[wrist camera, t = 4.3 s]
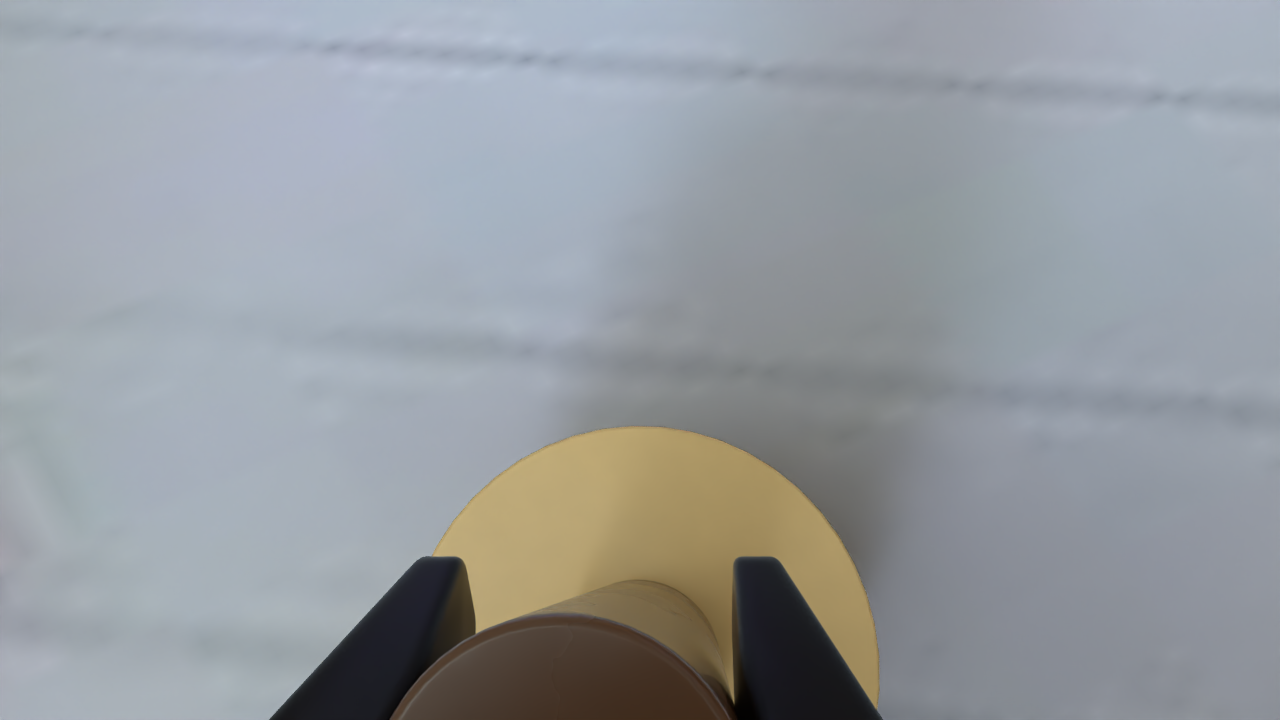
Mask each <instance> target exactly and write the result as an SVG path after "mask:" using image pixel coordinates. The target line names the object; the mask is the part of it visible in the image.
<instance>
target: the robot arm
mask: <svg viewBox="0 0 1280 720" xmlns="http://www.w3.org/2000/svg"><path fill="white" fill-rule="evenodd" d="M475 634H476V618H475V611H474V605H473V600H472V595H471V590H470V584H469V579H468V574H467V569H466V565H465V563H464V561H463V560H462V559H461V558H459V557H456V556H426V557H422V558H420V559H419V560H417V561H416V562H415V563H414V564H413V565H412V566H411V567H410V568H409V569H408V570H407V571H406V572H405V573H404V575H403V576H402V577H401V578H400V579H399V580H398V581H397V582H396V583H395V584H394V585H393V586H392V587H391V589H390V590H389V591H388V592H387V593H386V594H385V595H384V596H383V597H382V598H381V599H380V600H379V602H378V603H377V604H376V605H375V606H374V607H373V608H372V609H371V610H370V611H369V612H368V613H367V614H366V616H365V617H364V618H363V619H362V620H361V621H360V622H359V623H358V624H357V625H356V626H355V627H354V629H353V630H352V631H351V632H350V633H349V634H348V635H347V636H346V637H345V638H344V639H343V640H342V641H341V643H340V644H339V645H338V646H337V647H336V648H335V649H334V650H333V651H332V652H331V653H330V654H329V656H328V657H327V658H326V659H325V660H324V661H323V662H322V663H321V664H320V665H319V666H318V667H317V668H316V670H315V671H314V672H313V673H312V674H311V675H310V676H309V677H308V678H307V679H306V680H305V681H304V683H303V684H302V685H301V686H300V687H299V688H298V689H297V690H296V691H295V692H294V693H293V694H292V695H291V697H290V698H289V699H288V700H287V701H286V702H285V703H284V704H283V705H282V706H281V707H280V708H279V709H278V711H277V712H276V713H275V714H274V715H273V716H272V717H271V718H270V719H269V720H390V718H391V716H392V714H393V713H394V711H395V710H396V708H397V706H398V705H399V703H400V702H401V700H402V699H403V697H404V696H405V694H406V693H407V692H408V690H409V689H410V688H411V687H412V686H413V684H414V683H415V682H416V681H417V680H418V678H419V677H420V676H421V675H422V674H423V673H424V672H425V671H426V670H427V669H428V668H429V667H430V666H431V665H432V664H433V663H434V662H436V661H437V660H438V659H439V658H440V657H441V656H442V655H444V654H445V653H446V652H448V651H449V650H451V649H452V648H453V647H455V646H456V645H457V644H459V643H460V642H462V641H464V640H465V639H467V638H469V637H471V636H473V635H475ZM732 650H733V680H734V706H735V710H736V714H737V717H738V720H883V719H882V717H881V716H880V714H879V713H878V711H877V710H876V708H875V707H874V705H873V703H872V702H871V700H870V699H869V697H868V696H867V694H866V693H865V691H864V690H863V688H862V687H861V685H860V683H859V682H858V680H857V679H856V677H855V676H854V674H853V673H852V671H851V670H850V668H849V667H848V665H847V663H846V662H845V660H844V659H843V657H842V656H841V654H840V653H839V651H838V650H837V648H836V647H835V645H834V643H833V642H832V640H831V639H830V637H829V636H828V634H827V633H826V631H825V630H824V628H823V627H822V625H821V623H820V622H819V620H818V619H817V617H816V616H815V614H814V613H813V611H812V610H811V608H810V607H809V605H808V603H807V602H806V600H805V599H804V597H803V596H802V594H801V593H800V591H799V590H798V588H797V587H796V585H795V583H794V582H793V580H792V579H791V577H790V576H789V574H788V573H787V571H786V570H785V568H784V567H783V565H782V564H781V562H780V561H779V560H778V559H776V558H775V557H771V556H741V557H738V558H736V559H735V561H734V563H733V585H732Z"/></svg>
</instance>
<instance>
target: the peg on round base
mask: <svg viewBox="0 0 1280 720" xmlns="http://www.w3.org/2000/svg"><path fill="white" fill-rule="evenodd" d="M432 556H456V557H459V558H461V559H462V560H463V561H464V563H465V565H466V569H467V574H468V579H469V584H470V590H471V595H472V600H473V605H474V611H475V618H476V634H475V635H473V636H471V637H469V638H467V639H465V640H464V641H462V642H460V643H459V644H457V645H456V646H455V647H453V648H452V649H451V650H449V651H448V652H446V653H445V654H444V655H442V656H441V657H440V658H439V659H438V660H437V661H436V662H434V663H433V664H432V665H431V666H430V667H429V668H428V669H427V670H426V671H425V672H424V673H423V674H422V675H421V676H420V677H419V678H418V680H417V681H416V682H415V683H414V684H413V686H412V687H411V688H410V689H409V690H408V692H407V693H406V694H405V696H404V697H403V699H402V700H401V702H400V703H399V705H398V706H397V708H396V710H395V711H394V713H393V714H392V716H391V718H390V720H738V717H737V714H736V710H735V706H734V680H733V650H732V585H733V563H734V561H735V559H736V558H738V557H741V556H771V557H775V558H776V559H778V560H779V561H780V562H781V564H782V565H783V567H784V568H785V570H786V571H787V573H788V574H789V576H790V577H791V579H792V580H793V582H794V583H795V585H796V587H797V588H798V590H799V591H800V593H801V594H802V596H803V597H804V599H805V600H806V602H807V603H808V605H809V607H810V608H811V610H812V611H813V613H814V614H815V616H816V617H817V619H818V620H819V622H820V623H821V625H822V627H823V628H824V630H825V631H826V633H827V634H828V636H829V637H830V639H831V640H832V642H833V643H834V645H835V647H836V648H837V650H838V651H839V653H840V654H841V656H842V657H843V659H844V660H845V662H846V663H847V665H848V667H849V668H850V670H851V671H852V673H853V674H854V676H855V677H856V679H857V680H858V682H859V683H860V685H861V687H862V688H863V690H864V691H865V693H866V694H867V696H868V697H869V699H870V700H871V702H872V703H873V705H874V707H875V708H876V710H877V707H878V699H879V691H880V684H879V651H878V644H877V637H876V629H875V623H874V620H873V616H872V612H871V608H870V605H869V601H868V597H867V593H866V591H865V588H864V586H863V584H862V581H861V579H860V576H859V574H858V571H857V569H856V566H855V564H854V562H853V560H852V559H851V557H850V555H849V553H848V551H847V550H846V548H845V546H844V544H843V543H842V541H841V539H840V537H839V536H838V534H837V533H836V531H835V530H834V529H833V527H832V526H831V525H830V523H829V522H828V521H827V519H826V518H825V517H824V515H823V514H822V513H821V511H820V510H819V509H818V508H817V507H816V506H815V505H814V504H813V503H812V502H811V501H810V500H809V499H808V498H807V497H806V495H805V494H804V493H803V492H802V491H801V490H800V489H799V488H798V487H796V486H795V485H794V484H793V483H791V482H790V481H789V480H788V479H787V478H785V477H784V476H783V475H782V474H780V473H779V472H778V471H777V470H775V469H774V468H772V467H771V466H769V465H768V464H766V463H764V462H763V461H761V460H759V459H758V458H756V457H754V456H753V455H751V454H750V453H748V452H746V451H743V450H741V449H739V448H737V447H734V446H732V445H730V444H728V443H726V442H723V441H721V440H718V439H715V438H711V437H708V436H705V435H701V434H698V433H695V432H691V431H685V430H679V429H673V428H667V427H653V426H626V427H616V428H606V429H600V430H596V431H591V432H587V433H583V434H578V435H574V436H571V437H569V438H566V439H563V440H561V441H558V442H555V443H553V444H550V445H547V446H545V447H543V448H541V449H539V450H538V451H536V452H534V453H532V454H530V455H528V456H526V457H524V458H522V459H521V460H519V461H518V462H516V463H515V464H513V465H512V466H510V467H509V468H508V469H506V470H505V471H503V472H502V473H501V474H499V475H498V476H496V477H495V478H494V479H493V480H492V481H491V482H489V483H488V484H487V485H486V486H485V487H484V488H483V489H482V490H481V491H480V492H479V493H477V494H476V495H475V496H474V497H473V498H472V499H471V500H470V502H469V503H468V504H467V505H466V506H465V508H464V509H463V510H462V511H461V512H460V514H459V515H458V516H457V517H456V518H455V519H454V521H453V522H452V523H451V525H450V527H449V528H448V530H447V531H446V533H445V534H444V536H443V537H442V539H441V540H440V542H439V543H438V545H437V547H436V548H435V550H434V552H433V555H432Z"/></svg>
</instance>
